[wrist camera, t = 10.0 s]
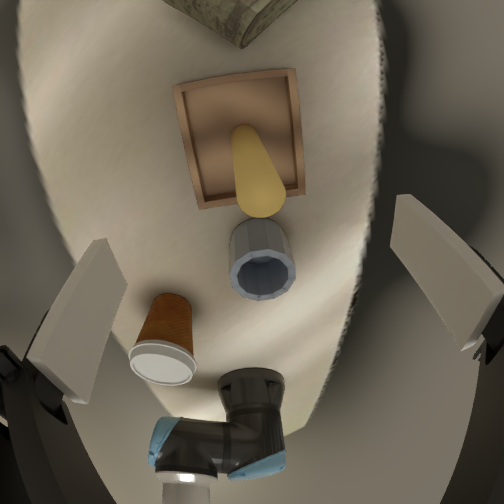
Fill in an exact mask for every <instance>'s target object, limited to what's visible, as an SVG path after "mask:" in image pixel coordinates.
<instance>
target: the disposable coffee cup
mask: <svg viewBox="0 0 504 504" xmlns="http://www.w3.org/2000/svg"><path fill="white" fill-rule="evenodd" d="M191 316H192V315H191V306H190V304H189V303H188V301H187V300H185V299H184V298H182V297H181V296H178V295H175V294H163V295H160V296H158V297H157V298H156V299H155V300H154V302H153V304H152V307H151V309H150V311H149V313H148V315H147V318H146V320H145V322H144V325H143V327H142V329H141V332H140V334H139V336H138V339H137V341H136V343H135V345H134V346H133V347H132V348H131V349H130V351H129V360H130V366H131V369H132V370H133V371H134V372H135V373H136V374H137V375H138V376H140V377H141V378H143V379H145V380H147V381H149V382H152V383H155V384H159V385H166V386H177V385H182V384H185V383H187V382H189V381H190V380H191V379H192V376H193V374H194V373H195V372H196V369H197V364H196V362H195V359H194V357H193V356H194V355H193V339H192V338H193V337H192V317H191Z"/></svg>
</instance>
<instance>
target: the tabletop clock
mask: <svg viewBox="0 0 504 504" xmlns="http://www.w3.org/2000/svg"><path fill="white" fill-rule="evenodd" d="M163 1H164V2H166V3H167V4H169V5H170V6H172V7H174V8H176V9H178V10H180V11H181V12H183V13H185V14H187V15H189V16H190V17H192V18H194V19H196V20H197V21H199V22H201V23H202V24H204V25H206V26H207V27H209V28H210V29H212V30H214V31H215V32H217V33H218V34H220V35H221V36H223V37H224V38H226V39H227V40H229V41H230V42H232V43H233V44H235V45H236V46H238V47H239V48H240V49H242V48H244V47H246V46H247V45H248V44H249V43H250V42H251V41H252V40H253V39H255V38H256V37H257V36H258V35H259V34H260V33H261V32H262V31H263V30H264V29H265V28H266V27H267V26H269V25H270V24H271V23H272V22H273V21H274V20H275V19H276V18H277V17H279V16H280V15H281V14H282V13H283V12H284V11H286V10H287V9H288V8H289V7H290V6H291V5H293V4H294V3H295V2H296V1H297V0H163Z"/></svg>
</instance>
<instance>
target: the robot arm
mask: <svg viewBox="0 0 504 504" xmlns="http://www.w3.org/2000/svg"><path fill="white" fill-rule="evenodd" d="M390 247H391V248H392V250H393V251H394V252H395V253H396V255H397V256H398V257H399V259H400V260H401V261H402V263H403V264H404V265H405V266H406V268H407V269H408V271H409V272H410V274H411V275H412V276H413V278H414V279H415V281H416V282H417V283H418V285H419V286H420V288H421V289H422V290H423V292H424V293H425V295H426V296H427V298H428V299H429V301H430V302H431V304H432V305H433V307H434V308H435V310H436V311H437V313H438V314H439V316H440V318H441V319H442V321H443V322H444V324H445V325H446V327H447V329H448V330H449V332H450V334H451V335H452V337H453V339H454V340H455V342H456V344H457V345H458V347H459V349H460V351H462V350H464V349H466V348H469V347H471V346H473V345H475V343H476V341H477V340H478V338H479V337H480V335H481V334H482V335H483V336H484V338H485V340H484V341H483V343H482V344H481V346H480V347H479V349H478V350H477V351H476V353H475V354H474V357H473V359H476V358H477V356H478V355H479V354H480V353H481V357H480V358H479V361H480V366H479V374H478V381H477V387H476V393H475V398H474V403H473V408H472V413H471V417H470V421H469V425H468V429H467V432H466V436H465V440H464V443H463V446H462V449H461V452H460V455H459V459H458V461H457V464H456V467H455V470H454V472H453V475H452V477H451V480H450V482H449V485H448V487H447V490H446V492H445V494H444V496H443V498H442V500H441V502H440V504H504V279H503V278H502V277H501V276H500V275H499V273H498V272H497V271H496V270H495V269H494V268H493V267H491V265H490V263H489V262H488V261H487V260H485V259H484V257H483V256H482V255H481V254H480V253H479V252H478V251H477V250H476V249H474V248H473V247H471V246H469V245H468V244H466V243H465V242H464V241H463V240H462V239H461V238H460V237H459V236H458V235H457V234H456V233H454V232H453V231H452V230H451V229H450V228H449V227H448V226H447V225H446V224H445V223H444V222H443V221H441V220H440V219H439V218H438V217H437V216H436V215H435V214H434V213H432V212H431V211H430V210H429V209H428V208H426V207H425V206H424V205H423V204H422V203H420V202H419V201H418V200H417V199H415V198H414V197H413V196H412V195H411V194H405V195H397V199H396V207H395V215H394V223H393V230H392V236H391V243H390ZM127 285H128V284H127V282H126V280H125V278H124V276H123V274H122V272H121V270H120V268H119V266H118V263H117V261H116V259H115V257H114V255H113V253H112V250H111V248H110V246H109V243H108V241H107V239H106V238H104V239H99V240H94V241H93V242H92V243H91V245H90V246H89V247H88V249H87V250H86V252H85V253H84V255H83V256H82V258H81V259H80V261H79V262H78V264H77V265H76V267H75V268H74V270H73V272H72V273H71V275H70V276H69V278H68V279H67V281H66V283H65V285H64V286H63V288H62V289H61V291H60V293H59V294H58V296H57V298H56V300H55V302H54V303H53V305H52V307H51V308H50V309H49V310H48V311H47V312H46V314H45V315H44V317H43V319H42V321H41V324H40V326H39V327H38V329H37V331H36V333H35V335H34V337H33V339H32V341H31V343H30V345H29V347H28V350H27V351H26V354H25V356H24V358H23V360H22V362H21V361H20V360H19V359H18V357H17V356H16V355H15V354H14V353H13V352H12V351H11V350H10V349H9V347H7V346H6V345H2V346H0V416H1V417H3V418H4V419H6V420H7V422H8V427H6V426H5V425H3V424H2V423H1V422H0V504H116V502H115V501H114V499H113V497H112V496H111V494H110V493H109V491H108V490H107V488H106V486H105V485H104V483H103V481H102V479H101V478H100V476H99V474H98V473H97V470H96V469H95V467H94V465H93V463H92V461H91V459H90V457H89V455H88V453H87V451H86V449H85V447H84V445H83V443H82V441H81V439H80V436H79V434H78V432H77V429H76V427H75V425H74V422H73V420H72V417H71V415H70V412H69V410H68V407H67V405H66V403H65V402H64V401H63V400H62V398H63V395H64V394H65V395H66V396H67V397H68V398H69V399H71V400H72V401H73V402H77V403H83V404H88V403H89V399H90V395H91V391H92V387H93V384H94V380H95V376H96V373H97V370H98V367H99V363H100V360H101V357H102V354H103V351H104V348H105V345H106V342H107V339H108V336H109V333H110V330H111V327H112V324H113V321H114V319H115V316H116V313H117V311H118V308H119V305H120V303H121V300H122V297H123V295H124V292H125V290H126V287H127ZM284 390H285V384H284V379H283V377H282V375H280V374H279V373H277V372H275V371H272V370H268V369H261V368H249V369H241V370H236V371H233V372H230V373H228V374H226V375H224V376H223V377H221V378H220V380H219V382H218V393H219V396H220V399H221V402H222V404H223V407H224V409H225V412H226V422H218V421H206V420H197V419H189V418H183V417H170V416H164V417H161V418H160V419H159V420H158V421H157V423H156V425H155V428H154V431H153V434H152V438H151V442H150V447H149V449H150V451H149V455H148V463H149V464H150V466H152V467H156V469H155V475H156V476H157V477H158V478H159V479H160V480H161V481H162V483H163V494H162V504H210V487H211V486H212V485H213V484H214V483H215V482H217V480H218V478H217V473H226V474H227V477H228V479H229V480H247V479H254V478H260V477H265V476H269V475H273V474H276V473H279V472H281V471H282V470H284V468H285V466H286V455H285V453H286V450H285V444H284V436H283V429H282V422H281V415H280V408H281V404H282V399H283V395H284Z"/></svg>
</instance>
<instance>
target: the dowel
mask: <svg viewBox="0 0 504 504" xmlns="http://www.w3.org/2000/svg"><path fill="white" fill-rule="evenodd" d="M231 144H232V155H233V165H234V175H235V185H236V196H237V202H238V205H239V207H240V208H241V210H242V211H243V212H244V213H246V214H247V215H249V216H252V217H256V218H264V217H268V216H271V215H273V214H275V213H276V212H278V211H279V210H280V209H281V207H282V206H283V204H284V202H285V199H286V190H285V187H284V185H283V183H282V181H281V179H280V177H279V175H278V173H277V171H276V169H275V167H274V165H273V163H272V161H271V159H270V157H269V155H268V153H267V151H266V149H265V147H264V145H263V144H262V142H261V140H260V138H259V136H258V134H257V132H256V130H255V129H254V128H253V127H251V126H249V125H239V126H237V127H236V128H235V129H234V130H233V131H232V134H231Z"/></svg>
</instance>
